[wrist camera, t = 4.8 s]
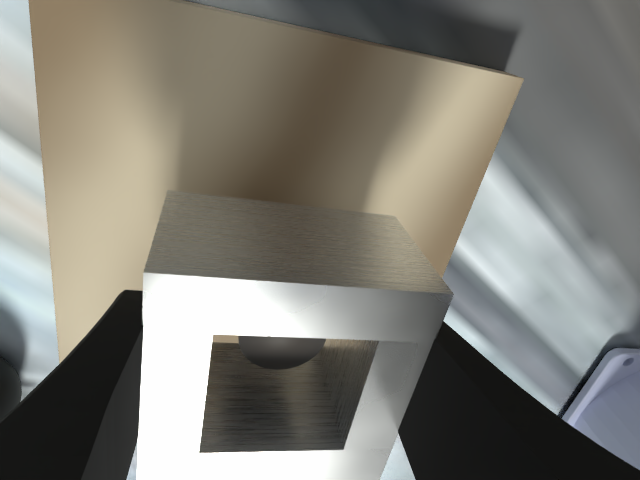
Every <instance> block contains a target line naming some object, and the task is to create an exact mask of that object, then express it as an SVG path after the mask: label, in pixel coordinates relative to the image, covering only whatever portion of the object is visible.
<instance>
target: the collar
mask: <svg viewBox="0 0 640 480" xmlns="http://www.w3.org/2000/svg"><path fill="white" fill-rule="evenodd" d="M453 295H454V294H453V292H452V291H451V290H450V288H449V287H448V286H447V284H446V283H445V282H444V281H443V279H442V278H441V277H440V275H439V274H438V273H437V271H436V270H435V269H434V267H433V266H432V265H431V263H430V262H429V261H428V259H427V258H426V257H425V255H424V254H423V253H422V251H421V250H420V249H419V247H418V246H417V245H416V243H415V242H414V241H413V239H412V238H411V237H410V235H409V234H408V233H407V231H406V230H405V229H404V227H403V226H402V225H401V223H400V222H399V221H398V219H397V218H396V217H395V216H391V215H383V214H374V213H365V212H356V211H348V210H339V209H330V208H321V207H313V206H304V205H295V204H286V203H278V202H269V201H260V200H251V199H243V198H234V197H225V196H216V195H207V194H199V193H190V192H181V191H172V190H167V194H166V197H165V201H164V204H163V207H162V211H161V214H160V218H159V221H158V224H157V228H156V231H155V235H154V238H153V241H152V245H151V248H150V252H149V255H148V258H147V262H146V265H145V269H144V272H143V300H142V325H144V328H143V350H142V373H141V396H140V419H139V435H138V463H137V480H380V477H381V475H382V472H383V470H384V467H385V465H386V462H387V460H388V457H389V455H390V452H391V450H392V447H393V445H394V442H395V440H396V437H397V435H398V429H399V427H400V424H401V422H402V419H403V417H404V414H405V412H406V409H407V407H408V404H409V402H410V399H411V397H412V394H413V392H414V389H415V387H416V384H417V382H418V379H419V377H420V374H421V372H422V369H423V367H424V364H425V362H426V359H427V357H428V354H429V352H430V349H431V347H432V344H433V342H434V339H436V337H437V335H438V332H439V330H440V327H441V325H442V322H443V320H444V317H445V315H446V312H447V310H448V307H449V305H450V302H451V300H452V297H453ZM213 334H220V335H246V336H272V337H298V338H324V339H326V341H325V344H324V346H323V347H322V349H321V350H320V352H319V353H318V354H317V355H316V356H315V357H313V358H312V359H311V360H309V361H308V362H306V363H304V364H302V365H299V366H297V367H294V368H289V369H282V370H274V369H266V368H263V367H260V366H257V365H255V364H253V363H252V362H250V361H249V360H248V359H247V358H246V357H245V356H244V355H243V353H242V352H241V350H240V347H239V343H218V342H212V337H213Z"/></svg>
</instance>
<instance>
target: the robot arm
mask: <svg viewBox="0 0 640 480" xmlns="http://www.w3.org/2000/svg"><path fill="white" fill-rule="evenodd" d="M142 300H143V291H139V290H124V291H123V292H121V293H120V294H119V295H118V296H117V298H116V299H115V300H114V302H113V303H112V304H111V306H110V307H109V308H108V310H107V311H106V312H105V313H104V315H103V316H102V317H101V318H100V319H99V321H98V322H97V323H96V324H95V325H94V327H93V328H92V329H91V330H90V331H89V332H88V334H87V335H86V336H85V337H84V338H83V339H82V340H81V341H80V342H79V343H78V345H77V346H76V347H75V348H74V349H73V350H72V351H71V352H70V353H69V354H68V355H67V357H66V358H65V359H64V360H63V361H62V362H61V363H60V364H59V365H58V366H57V367H56V368H55V369H54V370H53V371H52V372H51V373H50V374H49V375H48V376H47V377H46V378H45V379H44V380H43V381H42V382H41V383H40V384H39V385H38V386H37V387H36V388H35V389H34V390H33V391H32V392H30V393H29V394H28V395H27V396H26V397H25V398H24V399H23V400H22V401H21V402H20V403H19V404H18V405H17V406H16V407H15V408H13V409H12V410H11V411H10V412H9V413H8V414H7V415H6V416H5V417H3V418H2V419H1V420H0V480H126V479H127V475H128V471H129V468H130V464H131V461H132V457H133V453H134V450H135V446H136V443H137V439H138V435H139V419H140V396H141V373H142V350H143V328H144V325H142ZM398 433H399V436H400V439H401V441H402V444H403V447H404V449H405V452H406V455H407V457H408V460H409V463H410V466H411V468H412V471H413V474H414V476H415V479H416V480H640V349H630V348H615V349H612V350H610V351H609V352H608V353H607V354H606V355H605V356H604V357H603V359H602V360H601V362H600V363H599V365H598V366H597V368H596V369H595V371H594V372H593V373H592V375H591V376H590V378H589V379H588V381H587V382H586V384H585V385H584V387H583V388H582V389H581V391H580V392H579V394H578V395H577V397H576V398H575V400H574V401H573V403H572V404H571V405H570V407H569V408H568V410H567V411H566V413H565V414H564V416H563V417H562V419H561V418H560V417H558V416H557V415H556V414H554V413H553V412H552V411H550V410H549V409H548V408H546V407H545V406H544V405H542V404H541V403H540V402H539V401H537V400H536V399H535V398H534V397H532V396H531V395H530V394H528V393H527V392H526V391H525V390H523V389H522V388H521V387H520V386H518V385H517V384H516V383H515V382H513V381H512V380H511V379H510V378H509V377H507V376H506V375H505V374H504V373H503V372H501V371H500V370H499V369H498V368H497V367H496V366H494V365H493V364H492V363H491V362H490V361H489V360H487V359H486V358H485V357H484V356H483V355H482V354H480V353H479V352H478V351H477V350H476V349H475V348H474V347H472V346H471V345H470V344H469V343H468V342H467V341H466V340H464V339H463V338H462V337H461V336H460V335H459V334H458V333H456V332H455V331H454V330H453V329H452V328H451V327H450V326H448V325H447V324H446V323H445V322H444V321H443V322H442V325H441V327H440V330H439V332H438V335H437V337H436V339H434V342H433V344H432V347H431V349H430V352H429V354H428V357H427V359H426V362H425V364H424V367H423V369H422V372H421V374H420V377H419V379H418V382H417V384H416V387H415V389H414V392H413V394H412V397H411V399H410V402H409V404H408V407H407V409H406V412H405V414H404V417H403V419H402V422H401V424H400V427H399V429H398Z"/></svg>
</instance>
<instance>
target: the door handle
mask: <svg viewBox="0 0 640 480" xmlns="http://www.w3.org/2000/svg"><path fill="white" fill-rule="evenodd" d="M21 393H22V389H21V382H20V379H19V376H18V374H17V372H16V371H15V369H14V368H13V367H12V366H11V365H10V364H9V363H8V362H7V361H5V360H4V359H2V358H1V357H0V420H1V419H2V418H3V417H5V416H6V415H7V414H8V413H9V412H10V411H11V410H12V409H13V408H15V407H16V406H17V405H18V404H19V403H20V401H21Z"/></svg>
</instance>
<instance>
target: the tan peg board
mask: <svg viewBox="0 0 640 480" xmlns="http://www.w3.org/2000/svg"><path fill="white" fill-rule="evenodd" d="M29 12H30V23H31V35H32V47H33V58H34V70H35V82H36V94H37V105H38V117H39V129H40V140H41V152H42V164H43V175H44V187H45V199H46V211H47V222H48V234H49V246H50V257H51V269H52V281H53V293H54V304H55V316H56V328H57V339H58V351H59V363H61V362H62V361H63V360H64V359H65V358H66V357H67V355H68V354H69V353H70V352H71V351H72V350H73V349H74V348H75V347H76V346H77V345H78V343H79V342H80V341H81V340H82V339H83V338H84V337H85V336H86V335H87V334H88V332H89V331H90V330H91V329H92V328H93V327H94V325H95V324H96V323H97V322H98V321H99V319H100V318H101V317H102V316H103V315H104V313H105V312H106V311H107V310H108V308H109V307H110V306H111V304H112V303H113V302H114V300H115V299H116V298H117V296H118V295H119V294H120V293H121V292H123V291H124V290H139V291H143V272H144V269H145V265H146V262H147V258H148V255H149V252H150V248H151V245H152V241H153V238H154V235H155V231H156V228H157V224H158V221H159V218H160V214H161V211H162V207H163V204H164V201H165V197H166V194H167V190H172V191H181V192H190V193H199V194H207V195H216V196H225V197H234V198H243V199H251V200H260V201H269V202H278V203H286V204H295V205H304V206H313V207H321V208H330V209H339V210H348V211H356V212H365V213H374V214H383V215H391V216H395V217H396V218H397V219H398V221H399V222H400V223H401V225H402V226H403V227H404V229H405V230H406V231H407V233H408V234H409V235H410V237H411V238H412V239H413V241H414V242H415V243H416V245H417V246H418V247H419V249H420V250H421V251H422V253H423V254H424V255H425V257H426V258H427V259H428V261H429V262H430V263H431V265H432V266H433V267H434V269H435V270H436V271H437V273H438V274H439V275H440V277H441V278H442V277H443V274H444V272H445V269H446V267H447V264H448V262H449V260H450V257H451V255H452V252H453V250H454V247H455V245H456V243H457V240H458V238H459V235H460V233H461V230H462V228H463V226H464V223H465V221H466V218H467V216H468V213H469V211H470V209H471V206H472V204H473V201H474V199H475V196H476V194H477V192H478V189H479V187H480V184H481V182H482V179H483V177H484V175H485V172H486V170H487V167H488V165H489V162H490V160H491V158H492V155H493V153H494V150H495V148H496V145H497V143H498V141H499V138H500V136H501V133H502V131H503V128H504V126H505V124H506V121H507V119H508V116H509V114H510V111H511V109H512V107H513V104H514V102H515V99H516V97H517V94H518V92H519V90H520V87H521V85H522V82H523V80H524V79H523V78H520V77H518V76H515V75H512V74H510V73H507V72H504V71H499V70H495V69H490V68H486V67H481V66H477V65H472V64H468V63H463V62H459V61H454V60H450V59H445V58H441V57H436V56H432V55H427V54H423V53H418V52H414V51H409V50H405V49H400V48H396V47H391V46H387V45H382V44H378V43H373V42H369V41H364V40H360V39H355V38H351V37H346V36H342V35H337V34H333V33H328V32H324V31H319V30H315V29H310V28H306V27H301V26H297V25H292V24H288V23H283V22H279V21H274V20H270V19H265V18H261V17H256V16H252V15H247V14H243V13H238V12H234V11H229V10H225V9H220V8H216V7H211V6H207V5H202V4H198V3H193V2H189V1H184V0H29ZM325 341H326V339H324V338H298V337H272V336H246V335H220V334H213V337H212V342H218V343H239V347H240V350H241V352H242V353H243V355H244V356H245V357H246V358H247V359H248V360H249V361H250V362H252V363H253V364H255V365H257V366H260V367H263V368H266V369H274V370H282V369H289V368H294V367H297V366H299V365H302V364H304V363H306V362H308V361H309V360H311V359H312V358H313V357H315V356H316V355H317V354H318V353H319V352H320V350H321V349H322V347H323V346H324V344H325Z"/></svg>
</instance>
